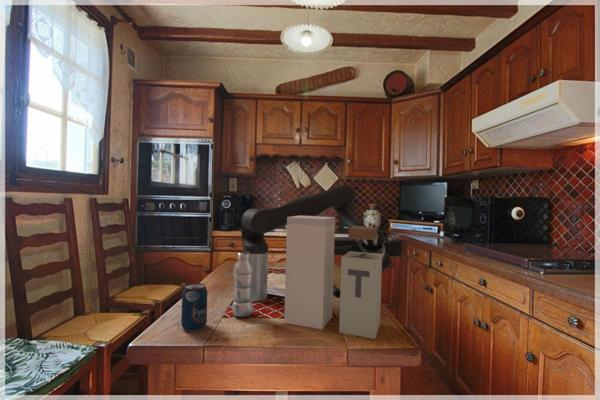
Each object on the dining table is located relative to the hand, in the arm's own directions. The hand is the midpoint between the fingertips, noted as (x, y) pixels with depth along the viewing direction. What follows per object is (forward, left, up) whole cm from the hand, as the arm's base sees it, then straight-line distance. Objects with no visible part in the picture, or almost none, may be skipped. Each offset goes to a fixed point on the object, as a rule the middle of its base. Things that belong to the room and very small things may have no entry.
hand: (368, 227), depth 103 cm
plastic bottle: (-38, -8, -29) cm, 49 cm away
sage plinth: (-2, -8, -29) cm, 30 cm away
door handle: (-19, +27, -30) cm, 44 cm away
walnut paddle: (-1, -3, -2) cm, 4 cm away
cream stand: (-17, -6, -29) cm, 34 cm away
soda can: (-48, -20, -29) cm, 60 cm away
